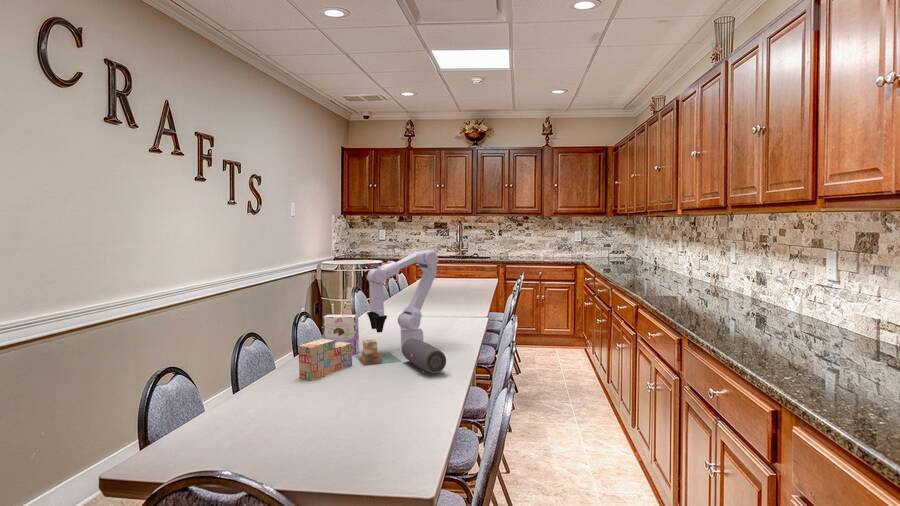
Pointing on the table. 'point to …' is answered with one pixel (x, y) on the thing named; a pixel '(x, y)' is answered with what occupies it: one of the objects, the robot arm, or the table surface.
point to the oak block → (369, 346)
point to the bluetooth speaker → (424, 355)
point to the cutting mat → (385, 358)
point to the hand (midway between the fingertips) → (376, 330)
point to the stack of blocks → (323, 358)
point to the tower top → (370, 355)
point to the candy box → (342, 330)
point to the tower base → (370, 361)
